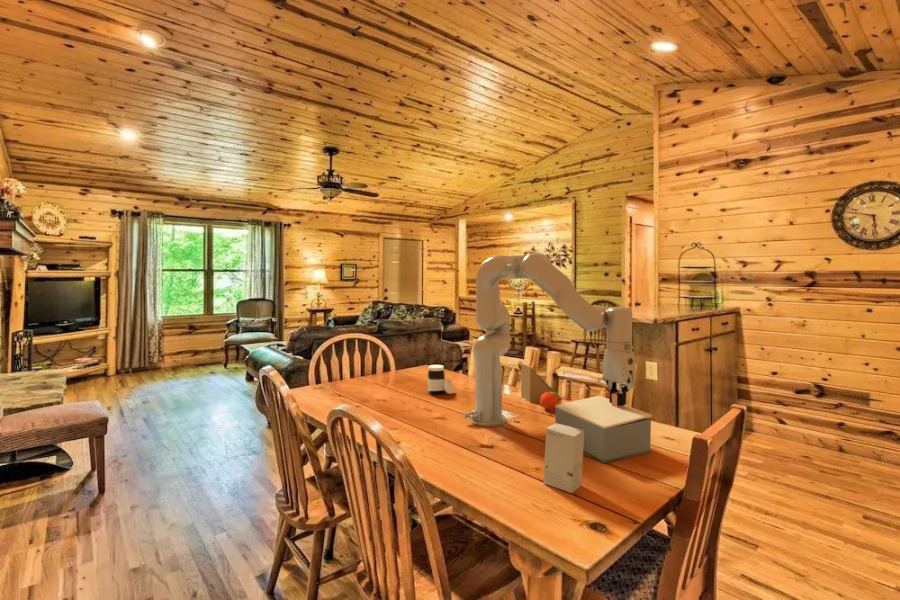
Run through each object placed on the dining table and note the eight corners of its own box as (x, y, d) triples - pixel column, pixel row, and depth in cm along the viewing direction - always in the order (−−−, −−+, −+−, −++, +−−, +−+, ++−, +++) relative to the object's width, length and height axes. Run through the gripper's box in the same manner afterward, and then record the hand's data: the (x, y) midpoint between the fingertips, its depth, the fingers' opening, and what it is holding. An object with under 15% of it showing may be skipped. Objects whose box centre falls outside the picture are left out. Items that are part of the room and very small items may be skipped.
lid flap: (604, 429, 127) (603, 413, 127) (555, 407, 147) (555, 393, 147) (651, 416, 135) (651, 401, 134) (599, 397, 155) (599, 384, 154)
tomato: (559, 407, 180) (559, 389, 179) (562, 412, 173) (562, 394, 172) (539, 406, 180) (539, 389, 180) (540, 412, 174) (541, 393, 173)
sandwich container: (563, 399, 190) (563, 364, 189) (530, 403, 186) (530, 367, 184) (552, 393, 198) (552, 360, 197) (520, 397, 194) (520, 362, 193)
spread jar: (427, 389, 207) (426, 364, 206) (451, 388, 209) (451, 363, 208) (428, 396, 195) (428, 370, 195) (454, 395, 197) (454, 369, 196)
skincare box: (543, 484, 117) (543, 428, 116) (554, 475, 121) (554, 421, 120) (573, 494, 111) (574, 435, 110) (584, 485, 116) (584, 428, 115)
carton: (603, 463, 128) (604, 429, 127) (555, 437, 148) (555, 407, 147) (650, 452, 136) (650, 419, 135) (598, 428, 156) (598, 400, 155)
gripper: (648, 349, 136) (646, 409, 138) (609, 341, 151) (608, 395, 153) (629, 351, 133) (628, 412, 135) (591, 343, 148) (590, 398, 149)
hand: (617, 403), depth 144 cm, fingers closed on lid flap, 2 cm apart
